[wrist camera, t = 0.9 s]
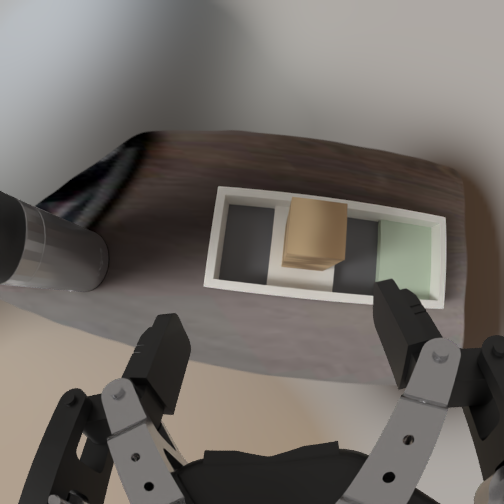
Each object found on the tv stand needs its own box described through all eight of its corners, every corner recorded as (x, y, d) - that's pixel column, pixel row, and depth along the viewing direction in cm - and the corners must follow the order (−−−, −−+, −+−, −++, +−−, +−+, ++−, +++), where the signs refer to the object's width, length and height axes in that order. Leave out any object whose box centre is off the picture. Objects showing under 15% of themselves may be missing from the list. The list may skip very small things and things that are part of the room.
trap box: (210, 287, 37) (203, 286, 33) (223, 197, 39) (218, 186, 35) (428, 308, 35) (443, 308, 31) (431, 224, 37) (445, 217, 33)
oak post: (281, 266, 35) (286, 253, 25) (285, 226, 36) (292, 196, 25) (321, 271, 35) (344, 259, 24) (325, 231, 36) (347, 203, 25)
